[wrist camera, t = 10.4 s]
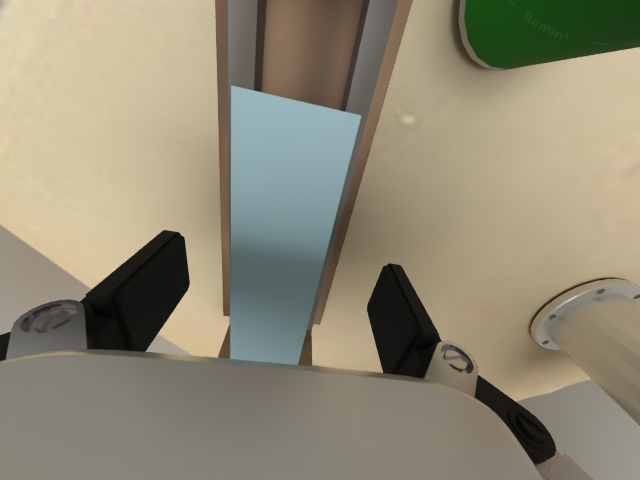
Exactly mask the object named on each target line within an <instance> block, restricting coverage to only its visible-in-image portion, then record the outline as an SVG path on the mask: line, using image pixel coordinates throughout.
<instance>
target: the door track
mask: <svg viewBox="0 0 640 480" xmlns="http://www.w3.org/2000/svg"><path fill="white" fill-rule="evenodd" d="M412 1H413V0H215V8H216V46H217V84H218V122H219V160H220V198H221V236H222V274H223V312H224V316H230V278H231V86H236V87H240V88H245V89H249V90H253V91H258V92H262V93H266V94H271V95H275V96H279V97H284V98H288V99H292V100H296V101H301V102H305V103H309V104H314V105H318V106H322V107H327V108H331V109H335V110H340V111H344V112H348V113H353V114H357V115H361V119H360V123H359V127H358V131H357V135H356V139H355V143H354V147H353V151H352V155H351V159H350V162H349V166H348V170H347V174H346V178H345V182H344V186H343V190H342V194H341V198H340V202H339V205H338V209H337V213H336V217H335V221H334V225H333V229H332V233H331V237H330V241H329V245H328V248H327V252H326V256H325V260H324V264H323V268H322V272H321V276H320V280H319V284H318V288H317V292H316V295H315V299H314V303H313V307H312V311H311V315H310V319H309V323H308V327H307V331H306V335H305V338H304V342H303V346H302V350H301V354H300V358H299V362H298V365H304V366H312V336H311V330H312V326H313V324H319V325H320V322H321V319H322V315H323V312H324V308H325V305H326V301H327V298H328V294H329V291H330V287H331V284H332V280H333V277H334V273H335V270H336V266H337V263H338V259H339V256H340V252H341V249H342V245H343V242H344V238H345V235H346V231H347V228H348V224H349V221H350V217H351V214H352V210H353V207H354V203H355V200H356V196H357V193H358V189H359V186H360V182H361V179H362V175H363V172H364V168H365V165H366V161H367V158H368V154H369V151H370V147H371V144H372V140H373V137H374V133H375V130H376V126H377V123H378V119H379V116H380V113H381V109H382V106H383V102H384V99H385V95H386V92H387V88H388V85H389V81H390V78H391V74H392V71H393V67H394V64H395V60H396V57H397V53H398V50H399V46H400V43H401V39H402V36H403V32H404V29H405V25H406V22H407V18H408V15H409V11H410V8H411V4H412ZM218 358H225V359H230V324H229V327H228V330H227V333H226V336H225V339H224V341H223V344H222V347H221V350H220V353H219V356H218Z"/></svg>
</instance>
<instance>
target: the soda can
mask: <svg viewBox="0 0 640 480" xmlns="http://www.w3.org/2000/svg"><path fill="white" fill-rule="evenodd" d="M458 22H459V28H460V33H461V38H462V43H463V45H464V47H465V48H466V50H467V52H468V54H469V55H470V57H471V59H473V60H474V61H476V62H477V63H479V64H480V65H481V66H483V67H484V68H490V69H497V70H506V69H512V68H518V67H524V66H530V65H536V64H541V63H547V62H553V61H559V60H565V59H571V58H577V57H583V56H589V55H595V54H601V53H607V52H613V51H618V50H624V49H630V48H636V47H640V0H460V7H459V21H458Z"/></svg>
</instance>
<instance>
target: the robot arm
mask: <svg viewBox="0 0 640 480" xmlns="http://www.w3.org/2000/svg"><path fill="white" fill-rule="evenodd" d="M189 284H190V281H189V272H188V264H187V255H186V247H185V239H184V237H183V236H181V234H180V233H179V232H174V231H167V230H164V231H162V232H161V233H160V234H158V235H157V236H156V237H155V238H154V239H152V240H151V241H150V242H149V243H147V244H146V245H145V246H144V247H143V248H141V249H140V250H139V251H138V252H137V253H135V254H134V255H133V256H132V257H131V258H129V259H128V260H127V261H126V262H125V263H123V264H122V265H121V266H120V267H118V268H117V269H116V270H115V271H114V272H112V273H111V274H110V275H109V276H108V277H106V278H105V279H104V280H103V281H102V282H100V283H99V284H98V285H97V286H96V287H94V288H93V289H92V290H91V291H89V292H88V293H87V294H86V297H85V298H84V299H83V300H81V301H80V302H79V301H76V300H58V301H53V302H49V303H46V304H43V305H40V306H38V307H36V308H33V309H31V310H29V311H28V312H26V313H25V314H23V315H22V316H20V318H18V319H17V320H16V321H15V323H14V325H13V327H12V329H11V332H8V333H5V334H2V335H0V480H593V479H592V478H591V477H590V476H589V475H587V473H586V472H584V471H583V470H582V469H581V468H580V467H579V466H578V465H577V464H576V463H575V462H574V461H573V460H572V459H571V458H570V457H569V456H568V455H567V454H566V453H562V454H560V453H559V452H558V451H557V450H556V447H555V443H554V441H553V439H552V437H551V435H550V433H549V432H548V430H547V429H546V427H545V426H544V425H543V424H542V423H541V422H540V421H539V420H538V419H537V418H536V417H535V416H534V415H532V414H531V413H530V412H529V411H528V410H526V409H525V408H524V407H522V406H521V405H519V404H518V403H517V402H515V401H514V400H512V399H511V398H510V397H508V396H507V395H505V394H504V393H503V392H501V391H500V390H499V389H497V388H496V387H494V386H493V385H492V384H490V383H489V382H487V381H486V380H485V379H483V378H482V377H480V376H479V375H478V366H477V364H476V362H475V360H474V359H473V357H472V356H471V355H470V354H469V353H468V352H467V351H466V350H465V349H464V348H462V347H461V346H459V345H457V344H455V343H453V342H450V341H441V339H440V337H439V334H438V332H437V330H436V328H435V326H434V324H433V323H432V321H431V319H430V317H429V315H428V314H427V312H426V310H425V308H424V306H423V304H422V303H421V301H420V299H419V297H418V295H417V294H416V292H415V290H414V288H413V286H412V284H411V283H410V281H409V279H408V277H407V275H406V274H405V272H404V270H403V268H402V266H401V265H396V264H390V263H389V264H388V265H387V266H384V267H383V269H382V271H381V273H380V276H379V278H378V281H377V283H376V286H375V288H374V290H373V293H372V295H371V298H370V300H369V303H368V306H367V312H368V316H369V320H370V324H371V328H372V331H373V335H374V339H375V343H376V347H377V350H378V354H379V358H380V362H381V366H382V370H383V373H377V372H368V371H357V370H347V369H336V368H325V367H315V366H304V365H293V364H282V363H271V362H260V361H248V360H237V359H225V358H213V357H201V356H190V355H177V354H165V353H152V352H145V351H146V350H147V348H148V347H149V346H150V344H151V343H152V341H153V340H154V338H155V337H156V335H157V334H158V332H159V331H160V330H161V328H162V327H163V325H164V324H165V322H166V321H167V319H168V318H169V316H170V315H171V313H172V312H173V311H174V309H175V308H176V306H177V305H178V303H179V302H180V300H181V299H182V297H183V296H184V294H185V293H186V292H187V290H188V288H189ZM531 335H532V337H533V339H534V340H535V341H536V342H537V343H538V344H539V345H540V346H542V347H544V348H547V349H550V350H562V351H563V352H564V353H566V354H567V355H568V356H569V357H570V358H571V359H572V360H573V361H574V362H575V363H576V364H577V365H578V366H579V367H580V368H581V369H582V370H583V371H584V372H585V373H586V374H587V375H588V376H589V377H590V378H591V379H592V380H593V381H594V382H595V383H597V384H598V386H599V387H601V388H602V389H603V390H604V391H605V392H606V393H607V394H608V395H609V396H610V397H611V398H612V399H613V400H614V401H615V402H616V403H617V404H618V405H619V406H620V407H621V408H622V409H623V410H624V411H625V412H626V413H627V414H628V415H629V416H631V418H632V419H633V420H634V421H635V422H637V424H639V425H640V287H638V286H636V285H634V284H633V283H631V282H629V281H626V280H621V279H605V280H599V281H594V282H591V283H587V284H584V285H581V286H579V287H576V288H574V289H572V290H570V291H568V292H566V293H564V294H562V295H560V296H559V297H557V298H556V299H554V300H553V301H551V302H550V303H549V304H548V305H546V306H545V307H544V308H543V309H542V310H541V311H540V312H539V313H538V315H537V316H536V317H535V319H534V321H533V323H532V326H531Z"/></svg>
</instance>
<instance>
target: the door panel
mask: <svg viewBox="0 0 640 480" xmlns="http://www.w3.org/2000/svg"><path fill="white" fill-rule="evenodd" d="M360 119H361V115H357V114H353V113H348V112H344V111H340V110H335V109H331V108H327V107H322V106H318V105H314V104H309V103H305V102H301V101H296V100H292V99H288V98H284V97H279V96H275V95H271V94H266V93H262V92H258V91H253V90H249V89H245V88H240V87H236V86H231V278H230V359H237V360H248V361H260V362H271V363H282V364H293V365H298V362H299V358H300V354H301V350H302V346H303V342H304V338H305V335H306V331H307V327H308V323H309V319H310V315H311V311H312V307H313V303H314V299H315V295H316V292H317V288H318V284H319V280H320V276H321V272H322V268H323V264H324V260H325V256H326V252H327V248H328V245H329V241H330V237H331V233H332V229H333V225H334V221H335V217H336V213H337V209H338V205H339V202H340V198H341V194H342V190H343V186H344V182H345V178H346V174H347V170H348V166H349V162H350V159H351V155H352V151H353V147H354V143H355V139H356V135H357V131H358V127H359V123H360Z"/></svg>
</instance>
